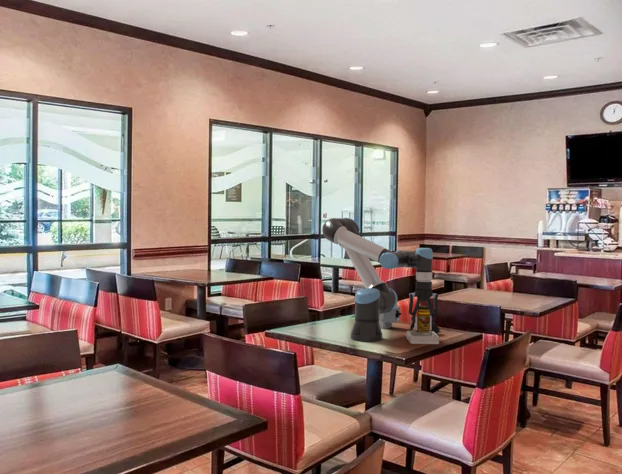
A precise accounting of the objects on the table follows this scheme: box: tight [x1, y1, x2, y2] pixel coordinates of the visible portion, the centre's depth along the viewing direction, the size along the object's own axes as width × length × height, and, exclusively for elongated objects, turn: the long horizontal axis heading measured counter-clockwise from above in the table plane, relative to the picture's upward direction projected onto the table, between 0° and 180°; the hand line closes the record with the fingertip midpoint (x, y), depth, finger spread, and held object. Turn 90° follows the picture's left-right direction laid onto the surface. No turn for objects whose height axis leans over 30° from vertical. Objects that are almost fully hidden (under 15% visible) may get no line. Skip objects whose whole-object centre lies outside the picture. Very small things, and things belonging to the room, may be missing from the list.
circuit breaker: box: [379, 305, 402, 330], centre depth 309 cm, size 8×14×15 cm, turn 58°
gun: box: [409, 317, 442, 335], centre depth 294 cm, size 3×16×10 cm, turn 89°
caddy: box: [406, 330, 440, 345], centre depth 277 cm, size 13×12×4 cm
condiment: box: [412, 305, 433, 334], centre depth 277 cm, size 7×8×12 cm
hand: (422, 329), depth 277 cm, fingers closed on condiment, 6 cm apart
